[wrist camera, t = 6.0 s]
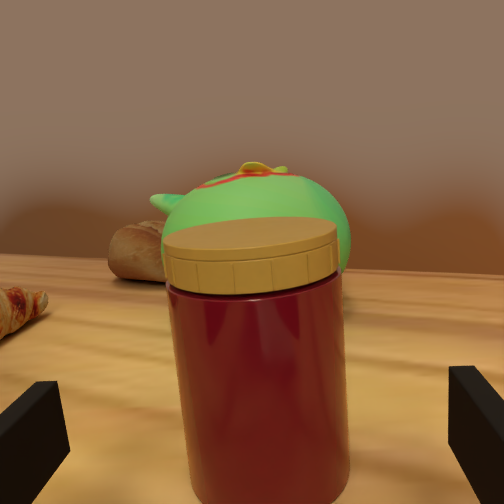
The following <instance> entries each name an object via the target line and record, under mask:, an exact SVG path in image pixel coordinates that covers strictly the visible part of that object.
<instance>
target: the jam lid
mask: <svg viewBox="0 0 504 504" xmlns="http://www.w3.org/2000/svg"><path fill="white" fill-rule="evenodd" d="M163 247H164V253H163V254H162V255H163V263H164V271H165V278H168V281H169V283H170V284H171V285H173V286H174V287H177V288H179V289H182V290H186V291H191V292H196V293H205V294H227V295H229V294H252V293H263V292H271V291H278V290H284V289H289V288H294V287H298V286H302V285H306V284H309V283H313V282H315V281H318V280H321V279H323V278H325V277H327V276H329V275H331V274H332V273H334V272H335V271H336V270H337V268H338V263H340V243H339V239H337V225H336V224H335V223H334V222H332V221H329V220H325V219H319V218H310V217H262V218H248V219H238V220H229V221H222V222H215V223H209V224H203V225H198V226H194V227H189V228H186V229H182V230H179V231H176V232H173V233H171V234H169V235H167V236H166V237H164V239H163Z"/></svg>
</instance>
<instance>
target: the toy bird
mask: <svg viewBox="0 0 504 504" xmlns="http://www.w3.org/2000/svg"><path fill="white" fill-rule="evenodd" d="M287 171H288V169H287V168H286V167H284V166H281V167H277V168H275V169H272V168H270V167H268V166H266V165H264V164H262V163H259V162H247V163H245V164H243V165H242V167H241V168H240V169H239V171H238V172H237V173H229V174H224V175H221V176H218V177H216V178H214V179H213V180H211V181H209V182H207V183H204V184H202V185H201V186H199V187H197V188H195V189H194V190H192V191H191V192H189V193H188V194H187V195H175V194H157V195H153V196H152V197H151V198H150V202H151V203H152V205H154V206H155V207H156V208H157V209H159V210H160V211H162V212H163V213H165V214H166V215H168V216H169V217H168V219H167V221H166V223H165V226H164V229H163V233H162V239H161V256H162V262H163V255H162V254H163V253H164V247H163V239H164V237H166V236H167V235H169V234H171V233H173V232H176V231H179V230H182V229H186V228H189V227H194V226H198V225H203V224H209V223H215V222H222V221H229V220H238V219H248V218H262V217H310V218H319V219H325V220H329V221H332V222H334V223H335V224H336V225H337V239H339V243H340V263H338V265H339V266H340V268H341V275H342V273H343V271H344V269H345V267H346V264H347V261H348V258H349V254H350V247H351V234H350V228H349V224H348V221H347V218H346V216H345V213H344V212H343V210H342V208H341V206H340V205H339V203H338V202H337V200H336V199H335V198H334V197H333V196H332V195H331V194H330V193H329V192H328V191H327V190H326V189H324V188H323V187H322V186H320V185H319V184H317V183H315V182H314V181H311V180H309V179H307V178H305V177H302V176H299V175H294V174H291V173H287ZM163 266H164V263H163Z"/></svg>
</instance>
